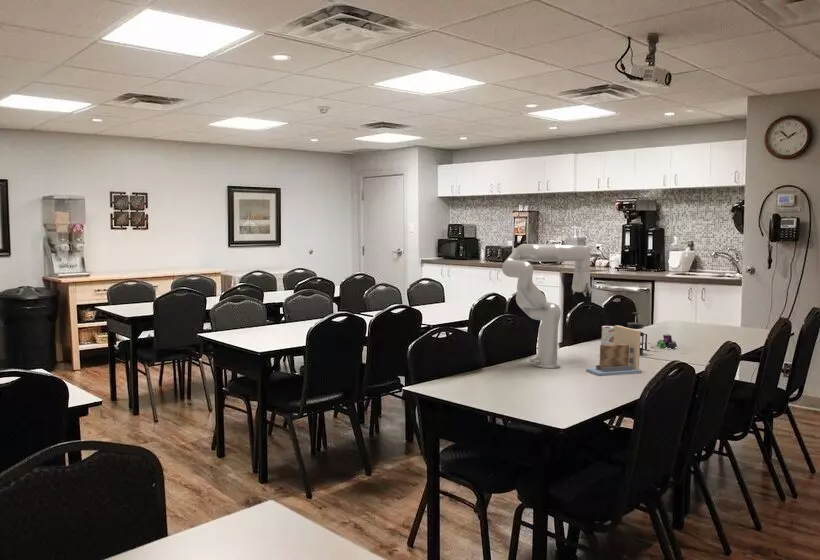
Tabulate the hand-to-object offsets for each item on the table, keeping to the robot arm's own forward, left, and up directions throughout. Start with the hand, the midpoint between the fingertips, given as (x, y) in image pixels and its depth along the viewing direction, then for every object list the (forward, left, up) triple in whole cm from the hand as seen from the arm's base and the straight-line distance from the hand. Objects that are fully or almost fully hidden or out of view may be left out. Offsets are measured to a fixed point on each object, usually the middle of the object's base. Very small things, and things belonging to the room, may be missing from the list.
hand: (581, 302), depth 336 cm
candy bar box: (+24, +6, -31) cm, 39 cm away
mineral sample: (+71, +22, -31) cm, 81 cm away
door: (+2, -27, -29) cm, 40 cm away
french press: (+41, +9, -31) cm, 52 cm away
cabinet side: (+2, -22, -30) cm, 37 cm away
